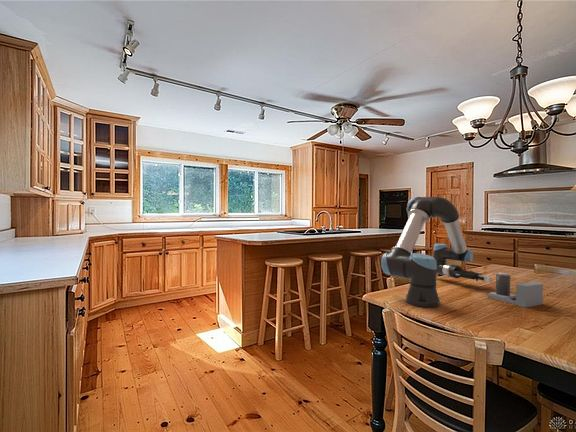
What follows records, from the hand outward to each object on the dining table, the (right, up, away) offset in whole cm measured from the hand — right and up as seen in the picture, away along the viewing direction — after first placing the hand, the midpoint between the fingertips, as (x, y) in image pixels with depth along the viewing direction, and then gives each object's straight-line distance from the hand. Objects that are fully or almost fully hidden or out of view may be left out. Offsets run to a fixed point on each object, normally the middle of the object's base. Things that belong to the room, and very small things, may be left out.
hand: (490, 279), depth 159 cm
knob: (+1, -7, -7) cm, 10 cm away
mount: (+3, -8, -11) cm, 14 cm away
